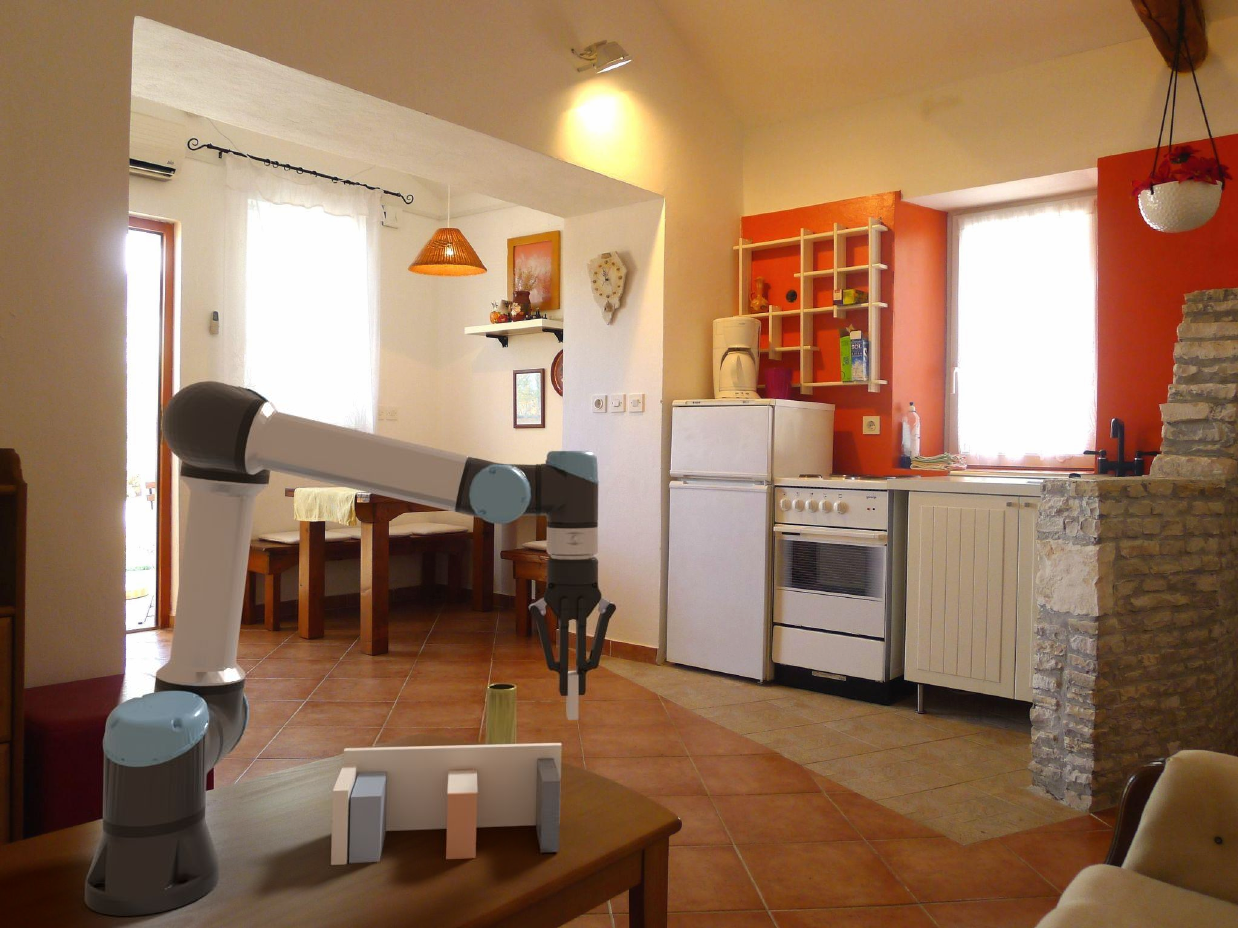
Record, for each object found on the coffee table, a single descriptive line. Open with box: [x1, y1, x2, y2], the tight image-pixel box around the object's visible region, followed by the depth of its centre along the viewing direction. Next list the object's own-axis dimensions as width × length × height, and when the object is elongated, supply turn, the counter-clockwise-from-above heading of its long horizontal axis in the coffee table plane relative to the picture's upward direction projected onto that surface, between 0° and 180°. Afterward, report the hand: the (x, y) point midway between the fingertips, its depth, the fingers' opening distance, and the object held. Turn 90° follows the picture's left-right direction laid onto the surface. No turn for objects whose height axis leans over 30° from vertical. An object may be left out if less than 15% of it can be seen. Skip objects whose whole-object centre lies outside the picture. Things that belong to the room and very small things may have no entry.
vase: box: [484, 682, 518, 745], centre depth 167 cm, size 6×6×14 cm
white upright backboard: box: [330, 742, 563, 866], centre depth 134 cm, size 32×12×12 cm, turn 99°
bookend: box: [535, 758, 561, 853], centre depth 135 cm, size 2×10×10 cm, turn 9°
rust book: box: [445, 769, 477, 860], centre depth 133 cm, size 4×10×9 cm, turn 9°
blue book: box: [348, 772, 387, 864], centre depth 131 cm, size 4×10×9 cm, turn 9°
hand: (572, 717), depth 136 cm, fingers closed
